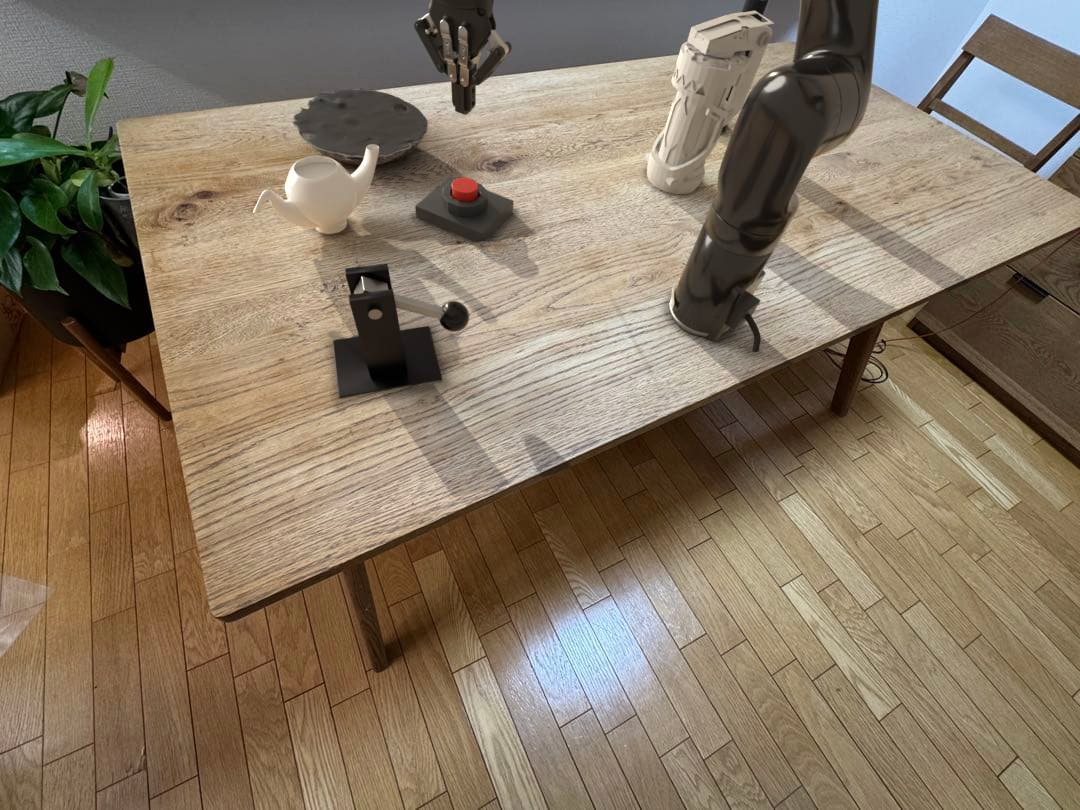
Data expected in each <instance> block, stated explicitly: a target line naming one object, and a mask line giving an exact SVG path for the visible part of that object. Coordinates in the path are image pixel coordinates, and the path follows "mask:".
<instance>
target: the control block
mask: <svg viewBox="0 0 1080 810" xmlns="http://www.w3.org/2000/svg"><path fill="white" fill-rule="evenodd" d="M456 179H458V178H457V177H454V176H451V175H449V176H447V178H445V179H444V180H443V181H442V182H441V183H439V184H438V185H437V186H436V187H435V188H434V189H433V190H432V191H430V192H429V193H428V194H427V195H426V196H425V197H423V198H422V200H420V201H418V202H417V204H416V205H414V207H415V216H416V219H418V220H420V221H423V222H426V223H428V224H431V225H433V226H435V227H437V228H440V229H442V230H445V231H446V232H449V233H452V234H454V235H457V236H460V238H461V237H462V238H464V239H466V240H469V241H471V242H474V243H483V242H484V243H485V242H488V240H489V239H490V238H491V237H492V236H493V235H494V233H496V231H497V230H498V229H499V228H500V227H501V226H502V225H503V224H504V223H505V221H506V220H507V219H508V218H509V217H510V216H511V215H512V214H513V213H514V202H515V201H514V200H513V199H510V198H508V197H505V196H503V195H500V194H497V193H495V192H492V191H491V190H488V189H487V188H485V186H484V185H483V184H481V183H479V182H477V184H478V198H477V199H476V200H474V201H471V202H460V201H458V200H456V199H454V198H453V196H452V182H453V181H454V180H456Z"/></svg>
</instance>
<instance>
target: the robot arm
mask: <svg viewBox="0 0 1080 810" xmlns="http://www.w3.org/2000/svg"><path fill="white" fill-rule="evenodd" d="M494 3H495V0H430V1H429V4H428V13H427V14H425V15H424V16H422V17H420V18H418V19H417V20H415V21H414V23H413V27H414V30H415V32H416V33H417V36H418V37H419V39H420V41H421V43H422V44H423V46H424V48H425V49H426V52H427V53H428V55H429V57H430V59H431V61H432V63H433V64H434V67H435V68H436V70H437V71H438V72H439V73H440V74H443V73H444V74H445V75H446V76H447V77H448V80H449V81H450V85H451V87H450V88H451V103H452V106H453V107H454V111H455V113H458V114H462V115H464V116H467V115H468V114H469V113H471V112H472V110H473V109H474V108H475V107H476V105H477V100H476V99H477V96H476V95H477V86H480V85H481V84H483V83H484V82H485V81H486V80H488V79H490V77H491V76H492V75H493V74H494V72H495V71H496V69H498V67H500V65H501V64H502V62H503V61H504V60H505V59H506V58H507V57H508V55H509V54H510V53H511V52H512V50H513V46H512V44H511V42H510V41H508V40H503V39H502V37H501V36H500V35H499V34H498V31H496V29H497V22H496V19H495V15H494V12H493V11H494V10H493V9H494ZM879 6H880V0H799V13H798V24H797V31H796V32H797V33H796V40H795V47H794V52H793V58H792V62H789V63H786V64H782V65H779V66H777V67H775V68H772V69H771V70H769V71H768V72H766V73H765V74H763V76H762V77H760V78H759V79H758V81H756V83H755V84H754V86H753V87H752V88H751V89H750V91H749V92H748V94H747V97H746V99H745V102H744V104H743V107H742V109H741V110H740V111H739V113H738V116H737V119H736V121H735V124H734V127H733V129H732V132H731V135H730V138H729V141H728V143H727V146H726V149H725V151H724V155H723V157H722V160H721V163H720V165H719V171H718V175H717V190H716V193H715V195H714V199H713V201H712V203H711V206H710V208H709V211H708V213H707V215H706V217H705V220H704V222H703V224H702V227H701V229H700V231H699V234H698V236H697V238H696V240H695V243H694V245H693V248H692V250H691V251H690V254H689V257H688V259H687V261H686V264H685V266H684V269H683V271H682V273H681V276H680V278H679V280H678V283H677V285H676V287H675V285H673V287H672V289H671V298H670V300H669V303H668V312H669V315H670V317H671V319H672V320H673V322H675V324H676V325H677V326H679V327H680V328H681V329H683V330H684V331H685V332H687V333H689V334H691V335H694V336H698V337H703V338H707V339H709V340H710V341H712V342H716V340H718V339H719V338H720V337H721V336H722V335H724V334H726V333H727V332H728V331H729V330H730V329H731V330H733V331H736V330H737V329H738V328H740V326H742V325H743V324H744V323H745V322H746V323H747V324H748V326H749V328H750V330H751V332H752V335H753V344H752V353H759V352H760V347H761V342H762V341H761V340H762V338H761V333H760V329H759V327H758V325H757V323H756V321H755V320H754V317H753V316H752V315H753V314H754V313H755V311H756V309H757V308H758V306H759V304H760V303H761V299H760V298H758V297H756V296H755V295H754V294H755V292H757V290H758V287H759V286H760V284H761V283H762V281H763V279H764V277H765V276H766V271H765V270H764V269H765V267H766V265H767V264H768V262H769V260H770V258H771V257H772V255H773V253H774V252H775V250H776V248H777V247H778V245H779V243H780V242H781V240H782V238H783V236H784V235H785V233H786V232H787V230H788V228H789V227H790V225H791V223H792V221H793V219H795V216H796V215H797V212H798V210H799V207H800V199H799V196H798V194H797V192H796V189H797V188H798V185H799V183H800V181H801V180H802V178H803V176H804V174H805V173H806V170H807V168H808V167H809V165H810V164H811V161H812V160H813V159H815V158H817V157H820V156H822V155H825V154H826V153H829V152H831V151H833V150H835V149H837V148H838V147H840V146H842V144H845V143H846V141H848V140H849V138H851V136H853V134H854V133H855V132H856V131H857V129H859V128H858V127H859V126H860V125H861V122H862V121H863V120H864V116H865V115H866V112H867V108H868V105H869V101H870V96H871V90H872V81H873V71H874V63H875V62H874V60H875V49H876V48H875V47H876V37H877V28H878V27H877V26H878V15H879ZM487 44H488V46H487V48H486V55H487V57H486V59H485V60H484V61H483V63H482V64H481V65H480V66H479V63H480V60H481V58H482V51H483V49H484V48H485V46H486V45H487Z"/></svg>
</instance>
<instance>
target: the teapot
mask: <svg viewBox="0 0 1080 810" xmlns="http://www.w3.org/2000/svg"><path fill="white" fill-rule="evenodd" d="M378 154H379V147H378V146H377V145H375V144H370V145H368V146H367V147H366V151H365V155H364V159H363V161H362V163H361V165H358V167H357V169H355V171H353V172H352V173H350V172H349V171H348V170H347V169H346V168H345V167H344V166H343V164H342V163H338V162H337V161H335V160H334V159H331V158H329V157H327V156H325V155H309V156H305V157H303V158H300V159H299V160H296V162H294V163H293V164H292V166H291V168H290V169H289V171H288V173H287V177H286V179H285V182H284V192H285V196H286V198H287V199H284V198H282V197H281V196H280V195H279V194H278V193H276V192H275V191H273V190H271V189H265V190H263V191H262V192H261V194H260V195H259V198H258V199H257V202H256V205H255V207H254V208H253V211H252V213H253V214H259V213H261V212H262V211H263V210H264V207H265V204H266V203H267V201H269V203H270V205H271V207H272V209H273V210H274V211H275V212H276V214H277V215H278V216H279V217H281V218H282V219H283V220H284V221H286V222H287V223H289V224H291V225H293V226H295V227H299V228H301V229H302V228H303V229H314V230H316V231H317V232H319V233H322V234H325V235H333V234H337V233H340V232H342V231H343V230H345V229H346V228H347V225H348V221H347V219H348V218H349V217H350V216H351V215H352V213H353V212H354V210H355V209H357V208H358V207H359V206H360V205H362V203H363V201H364V199H365V198H366V196H367V194H368V192H369V189H370V187H371V184H372V182H373V178H374V176H375V175H374V174H375V171H376V167H377V164H376V163H377V158H378Z"/></svg>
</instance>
